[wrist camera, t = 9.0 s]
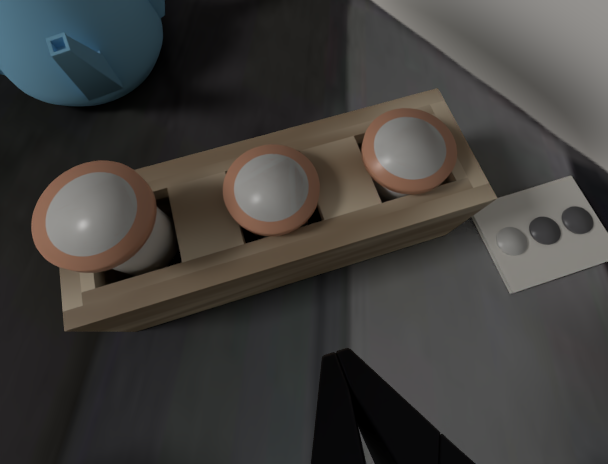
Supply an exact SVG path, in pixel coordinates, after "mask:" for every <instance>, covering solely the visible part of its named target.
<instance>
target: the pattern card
mask: <svg viewBox="0 0 608 464" xmlns="http://www.w3.org/2000/svg"><path fill="white" fill-rule="evenodd" d="M471 218H472V220H473V222H474V224H475V226H476V228H477V230H478V232H479V234H480V236H481V238H482V240H483V242H484V244H485V246H486V248H487V250H488V252H489V254H490V256H491V258H492V259H493V261H494V263H495V265H496V267H497V269H498V271H499V273H500V275H501V277H502V279H503V281H504V283H505V285H506V287H507V289H508V291H509V293H510V294H511V293H515V292H518V291H521V290H524V289H527V288H530V287H533V286H536V285H539V284H542V283H545V282H548V281H551V280H554V279H557V278H560V277H563V276H566V275H569V274H572V273H575V272H578V271H581V270H584V269H587V268H590V267H593V266H596V265H599V264H601V263H604V262H607V261H608V233H607V231H606V230H605V228H604V227H603V225H602V223H601V222H600V220H599V219H598V217H597V215H596V214H595V212H594V211H593V209H592V208H591V206H590V204H589V203H588V201H587V200H586V198H585V197H584V195H583V193H582V192H581V190H580V189H579V187H578V185H577V184H576V182H575V181H574V179H573V178H572V176H568V177H565V178H561V179H558V180H555V181H552V182H548V183H545V184H542V185H539V186H535V187H532V188H529V189H526V190H522V191H519V192H516V193H513V194H509V195H506V196H503V197H499V198H497V199H496V200H495V201H493V202H492V203H490V204H489V205H488V206H486V207H485V208H483V209H482V210H480V211H479V212H478V213H476V214H475V215H473V216H472V217H471Z"/></svg>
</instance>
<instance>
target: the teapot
mask: <svg viewBox="0 0 608 464" xmlns="http://www.w3.org/2000/svg"><path fill="white" fill-rule="evenodd" d="M163 16H165V0H0V74H3V75H6V76H7V77H8V78H9V79H10V80H11V81H12V82H13V83H14V84H15V85H16V86H17V87H18V88H19V89H21V90H22V91H23V92H25V93H26V94H28V95H30V96H32V97H34V98H36V99H39V100H41V101H44V102H47V103H51V104H56V105H63V106H94V105H100V104H104V103H108V102H111V101H114V100H117V99H119V98H121V97H123V96H125V95H127V94H128V93H130V92H132V91H133V90H134V89H136V88H137V87H138V86H139V85H140V84H141V83H142V82H143V81H144V80H145V79H146V78H147V77H148V76H149V74H150V72H151V71H152V69H153V67H154V66H155V63H156V61H157V59H158V57H159V53H160V50H161V47H162V41H163V28H162V22H161V18H162V17H163Z"/></svg>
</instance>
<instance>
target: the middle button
mask: <svg viewBox="0 0 608 464" xmlns="http://www.w3.org/2000/svg"><path fill="white" fill-rule="evenodd" d="M319 193H320V182H319V177H318V174H317V171H316V169H315V167H314V166H313V164H312V163H311V161H310V160H309V159H308V158H307V157H306V156H305V155H303V154H302V153H301V152H299V151H297V150H295V149H293V148H291V147H288V146H284V145H276V144H270V145H262V146H258V147H255V148H252V149H250V150H248V151H246V152H245V153H243V154H242V155H240V156H239V157H238V158H237V159H236V160H235V161H234V162H233V163H232V165H231V166H230V167H229V169H228V171H227V173H226V176H225V178H224V182H223V198H224V202H225V205H226V207H227V209H228V211H229V213H230V214H231V216H232V217H233V218H234V220H235V221H236V222H237V223H238V224H239V225H240V226H242V227H243V228H244V229H246V230H248V231H250V232H252V233H254V235H255V236H256V237H257V238H258V239H263V238H266V237H269V236H280V235H284V234H287V233H290V232H293V231H294V230H296V229H298V228H300V227H303V226H306V225H308V220H309V218H310V217H311V216H312V214H313V213H314V211H315V209H316V207H317V204H318V200H319Z"/></svg>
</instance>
